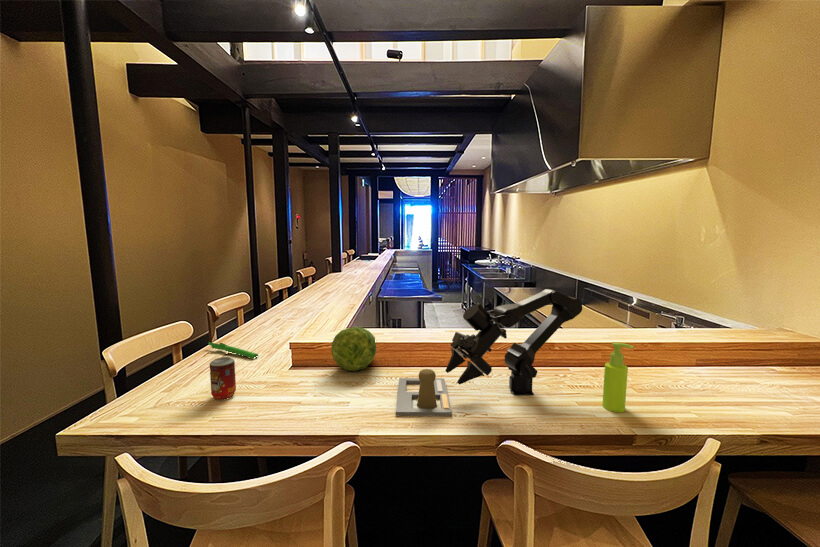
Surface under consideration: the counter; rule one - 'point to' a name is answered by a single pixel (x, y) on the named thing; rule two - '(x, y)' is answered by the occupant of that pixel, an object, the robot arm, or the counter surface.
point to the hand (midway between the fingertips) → (452, 377)
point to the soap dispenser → (615, 380)
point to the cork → (427, 390)
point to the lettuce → (353, 348)
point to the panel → (406, 397)
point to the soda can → (222, 378)
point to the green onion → (232, 349)
